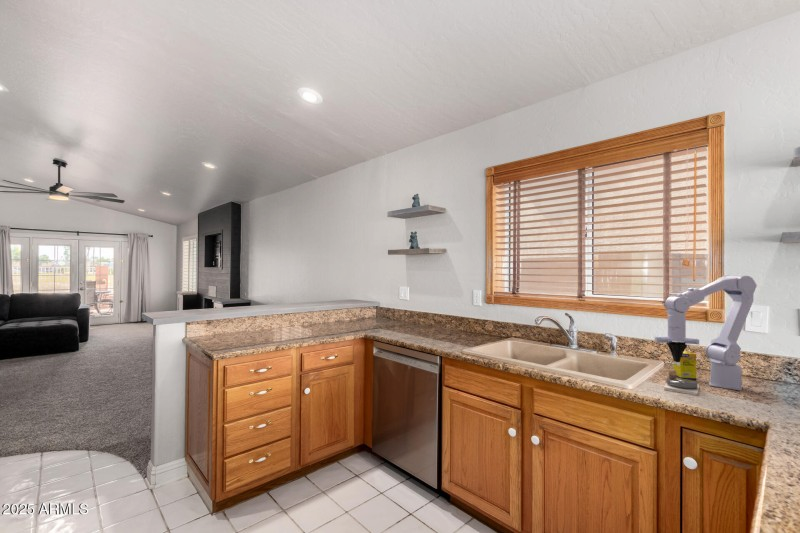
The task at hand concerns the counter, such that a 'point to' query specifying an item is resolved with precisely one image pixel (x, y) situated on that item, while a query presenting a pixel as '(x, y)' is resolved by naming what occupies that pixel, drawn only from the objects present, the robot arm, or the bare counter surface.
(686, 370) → the supplement box
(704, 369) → the counter surface
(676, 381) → the crank wheel
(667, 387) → the base board
